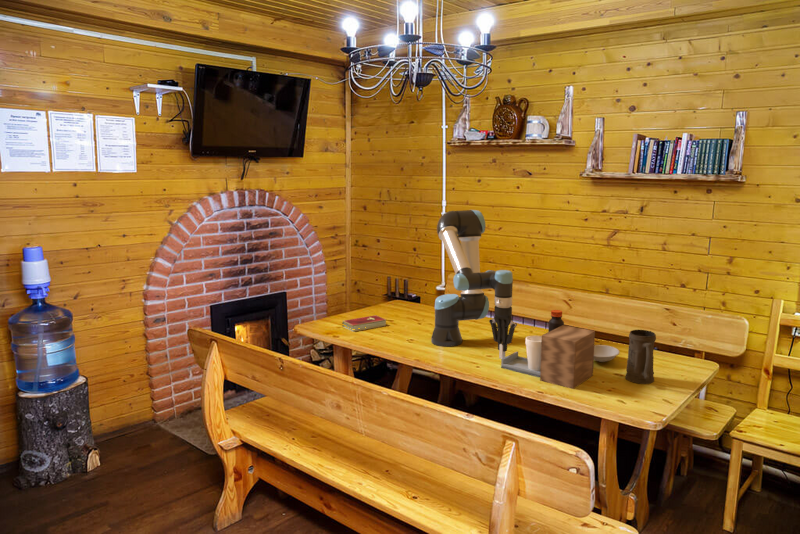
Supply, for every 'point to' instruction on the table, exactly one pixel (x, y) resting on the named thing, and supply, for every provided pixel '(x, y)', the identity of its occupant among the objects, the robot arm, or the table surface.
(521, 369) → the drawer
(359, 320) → the hardcover book
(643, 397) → the table surface
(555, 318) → the bottle
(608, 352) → the dish
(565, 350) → the wood grain box
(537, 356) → the foam cup
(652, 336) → the beer stein
